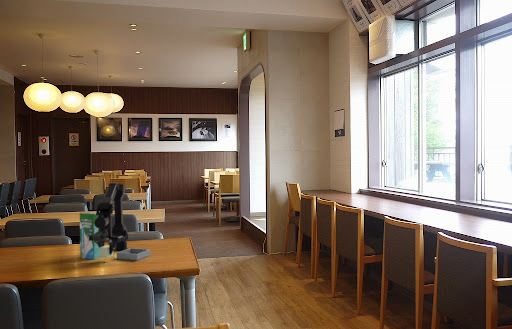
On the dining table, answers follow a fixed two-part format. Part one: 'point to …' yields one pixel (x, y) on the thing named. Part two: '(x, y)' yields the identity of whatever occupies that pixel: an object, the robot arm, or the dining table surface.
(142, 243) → the dining table surface
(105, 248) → the sage cube
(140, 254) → the slate bin
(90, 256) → the milk carton
